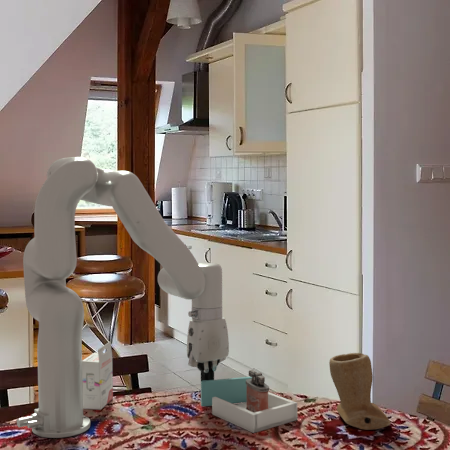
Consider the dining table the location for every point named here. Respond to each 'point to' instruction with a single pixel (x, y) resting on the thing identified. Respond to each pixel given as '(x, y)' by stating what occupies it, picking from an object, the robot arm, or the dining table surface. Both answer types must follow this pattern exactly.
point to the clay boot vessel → (356, 391)
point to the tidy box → (256, 413)
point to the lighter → (256, 392)
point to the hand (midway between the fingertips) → (207, 386)
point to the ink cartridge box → (97, 378)
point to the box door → (224, 390)
